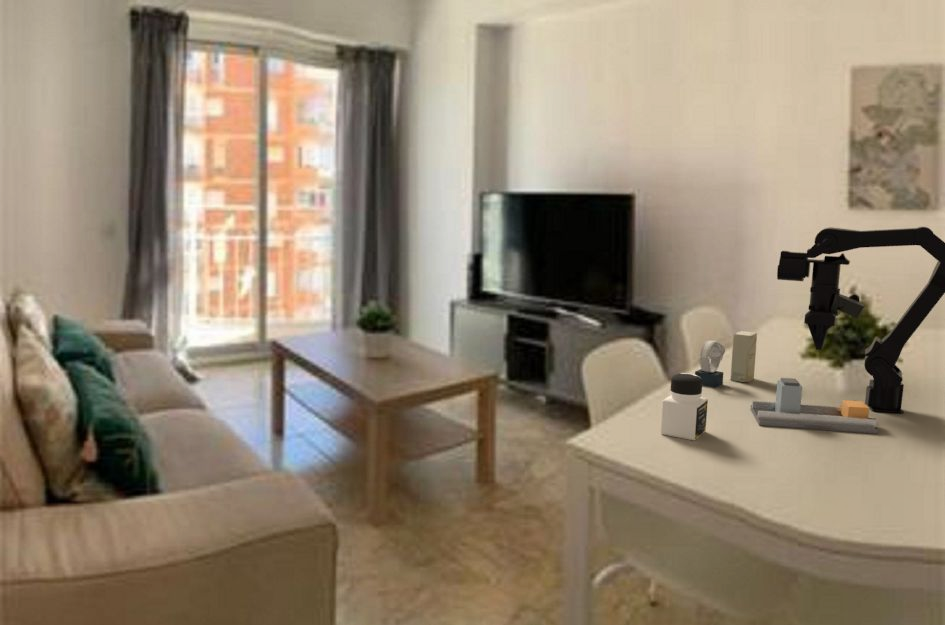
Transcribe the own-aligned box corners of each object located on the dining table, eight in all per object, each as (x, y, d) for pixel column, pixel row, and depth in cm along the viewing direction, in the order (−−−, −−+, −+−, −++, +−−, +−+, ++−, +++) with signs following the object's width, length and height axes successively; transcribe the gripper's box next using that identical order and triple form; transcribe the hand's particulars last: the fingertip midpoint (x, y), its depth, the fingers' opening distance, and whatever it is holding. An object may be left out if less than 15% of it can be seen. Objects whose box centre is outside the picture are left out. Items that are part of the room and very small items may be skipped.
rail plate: (860, 416, 173) (861, 405, 173) (877, 434, 161) (878, 422, 161) (750, 409, 177) (751, 398, 177) (759, 425, 166) (760, 413, 165)
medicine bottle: (695, 441, 155) (699, 381, 153) (660, 434, 159) (663, 376, 157) (705, 431, 161) (710, 374, 159) (671, 425, 165) (675, 369, 163)
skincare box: (746, 383, 200) (750, 336, 198) (729, 380, 203) (732, 333, 201) (754, 378, 205) (758, 332, 203) (737, 375, 208) (740, 330, 206)
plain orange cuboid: (861, 415, 170) (862, 401, 169) (868, 421, 165) (869, 407, 164) (841, 413, 170) (842, 400, 170) (847, 420, 166) (848, 406, 165)
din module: (794, 412, 172) (797, 378, 171) (799, 418, 167) (802, 383, 166) (775, 410, 173) (777, 376, 172) (779, 417, 168) (782, 382, 167)
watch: (725, 382, 200) (728, 340, 198) (712, 389, 194) (715, 345, 192) (704, 379, 204) (707, 337, 202) (690, 384, 198) (693, 341, 196)
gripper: (863, 290, 170) (856, 361, 172) (864, 281, 186) (858, 346, 189) (807, 286, 174) (801, 356, 177) (813, 277, 191) (807, 341, 194)
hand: (818, 349), depth 184 cm, fingers closed
